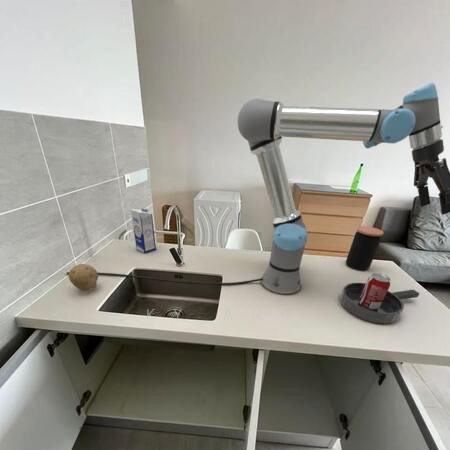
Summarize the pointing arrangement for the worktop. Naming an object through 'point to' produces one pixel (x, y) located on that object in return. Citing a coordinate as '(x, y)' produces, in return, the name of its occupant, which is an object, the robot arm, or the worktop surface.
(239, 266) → the worktop surface
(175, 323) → the worktop surface
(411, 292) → the pan handle
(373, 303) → the soda can
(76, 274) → the potato
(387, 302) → the pan
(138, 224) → the milk carton
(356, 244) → the coffee jar
